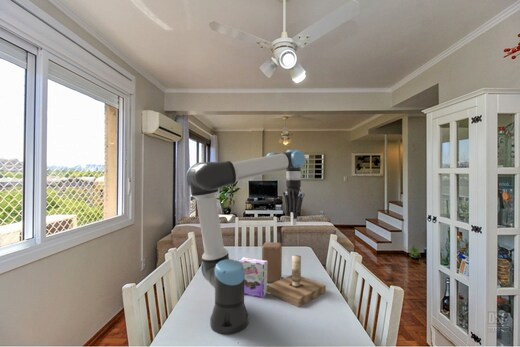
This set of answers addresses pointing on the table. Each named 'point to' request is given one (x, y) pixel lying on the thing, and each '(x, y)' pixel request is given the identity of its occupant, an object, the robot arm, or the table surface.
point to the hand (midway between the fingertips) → (293, 224)
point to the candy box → (255, 277)
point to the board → (296, 290)
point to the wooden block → (273, 260)
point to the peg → (296, 271)
